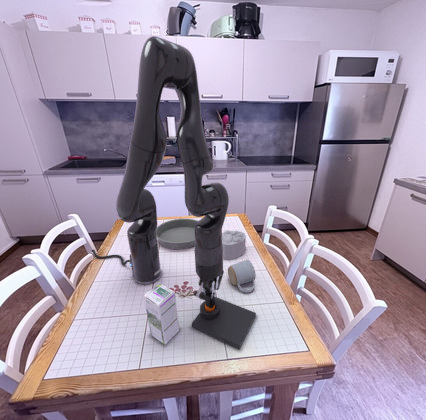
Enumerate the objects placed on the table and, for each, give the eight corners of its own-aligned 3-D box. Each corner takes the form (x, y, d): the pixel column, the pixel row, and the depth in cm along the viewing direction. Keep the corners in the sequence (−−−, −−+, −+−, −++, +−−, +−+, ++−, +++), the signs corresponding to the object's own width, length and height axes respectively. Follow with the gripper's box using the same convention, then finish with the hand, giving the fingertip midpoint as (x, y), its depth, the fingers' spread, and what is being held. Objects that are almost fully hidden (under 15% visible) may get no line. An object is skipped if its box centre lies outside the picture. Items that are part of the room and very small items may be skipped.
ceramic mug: (226, 278, 87) (226, 261, 84) (245, 272, 91) (246, 255, 88) (239, 297, 79) (240, 279, 76) (260, 289, 82) (262, 272, 79)
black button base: (190, 326, 68) (189, 317, 66) (212, 299, 78) (211, 291, 76) (239, 350, 61) (239, 340, 60) (255, 316, 71) (256, 308, 70)
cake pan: (183, 257, 99) (182, 248, 97) (144, 241, 111) (142, 232, 109) (216, 234, 118) (216, 226, 116) (180, 222, 130) (179, 214, 128)
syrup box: (180, 330, 67) (176, 290, 61) (164, 346, 62) (158, 304, 56) (165, 321, 69) (160, 281, 64) (149, 336, 65) (142, 295, 59)
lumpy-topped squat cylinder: (213, 250, 104) (213, 233, 101) (236, 241, 112) (236, 225, 108) (227, 261, 97) (227, 243, 94) (250, 251, 104) (251, 234, 101)
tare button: (203, 311, 70) (202, 307, 69) (208, 304, 72) (208, 300, 72) (211, 315, 69) (211, 311, 68) (216, 308, 71) (216, 304, 71)
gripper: (209, 242, 70) (211, 287, 77) (182, 266, 59) (186, 317, 66) (232, 248, 67) (231, 295, 74) (208, 274, 56) (209, 327, 63)
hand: (210, 305), depth 70 cm, fingers closed
